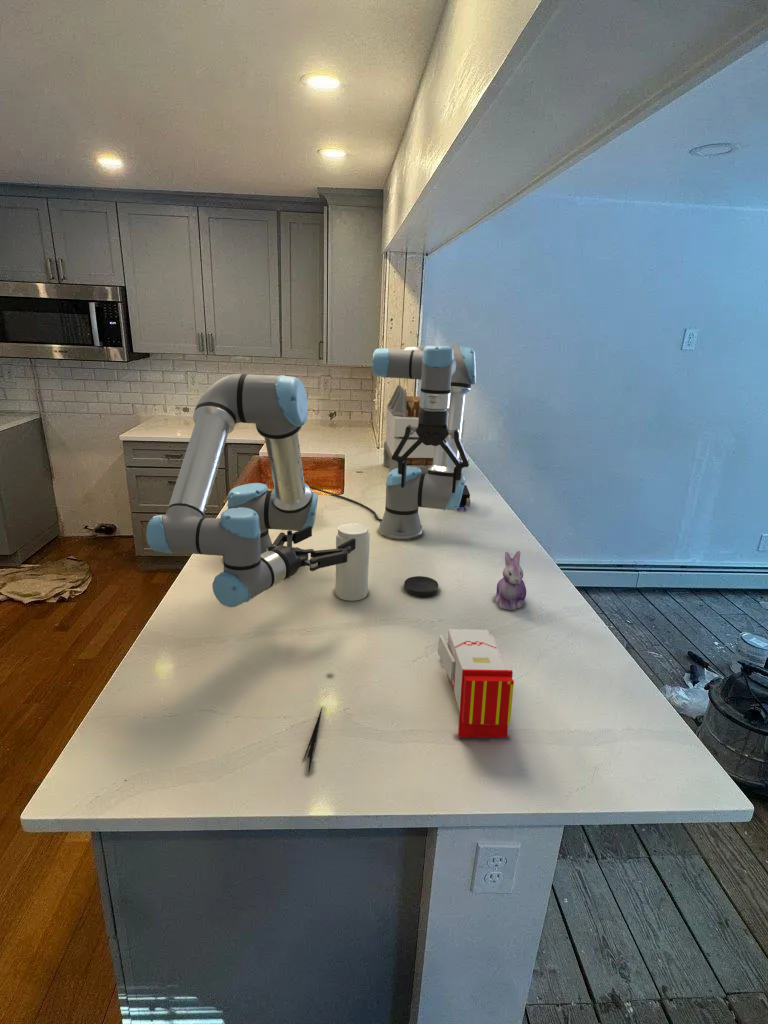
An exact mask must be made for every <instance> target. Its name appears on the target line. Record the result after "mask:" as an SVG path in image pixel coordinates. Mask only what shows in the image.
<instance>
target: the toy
mask: <svg viewBox="0 0 768 1024" xmlns="http://www.w3.org/2000/svg"><path fill="white" fill-rule="evenodd" d="M446 640H447V643H446V641H445V639H444V636H443V635H442V634H439V637H438V646H437V656H438V657H439V659H440V661H441V663H442V666H443V668H444V670H445V672H446V674H447V677H448V679H449V681H450V684H451V687H452V690H453V693H454V697H455V701H456V705H457V708H458V711H459V714H458V715H459V716H458V730H457V731H458V732H457V737H458V738H508V731H509V726H510V725H511V717H512V707H513V697H514V696H513V695H514V684H515V680H514V679H513V673H514V671H513V670H512V669H508V667H507V665H506V662H505V661H504V659H503V658H502V655H501V653H500V651H499V649H498V647H497V643H496V639H495V637H494V635H493V634H491V632H490V631H489V629H467V628H466V629H465V628H463V629H461V628H460V629H459V628H448V630H447V639H446Z"/></svg>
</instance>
